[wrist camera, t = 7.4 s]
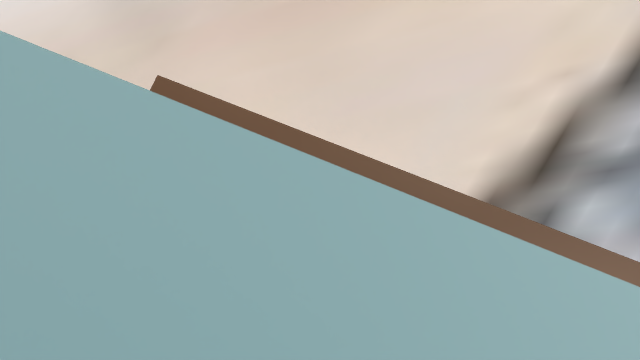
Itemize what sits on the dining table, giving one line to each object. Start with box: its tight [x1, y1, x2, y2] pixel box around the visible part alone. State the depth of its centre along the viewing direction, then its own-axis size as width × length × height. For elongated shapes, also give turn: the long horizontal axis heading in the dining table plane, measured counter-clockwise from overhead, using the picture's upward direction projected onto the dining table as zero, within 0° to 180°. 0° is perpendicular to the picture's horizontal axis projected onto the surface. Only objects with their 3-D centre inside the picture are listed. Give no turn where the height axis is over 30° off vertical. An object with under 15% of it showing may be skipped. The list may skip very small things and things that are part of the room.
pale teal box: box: [0, 31, 640, 360], centre depth 9 cm, size 3×4×13 cm, turn 66°
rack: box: [150, 75, 640, 287], centre depth 15 cm, size 9×14×5 cm, turn 66°
